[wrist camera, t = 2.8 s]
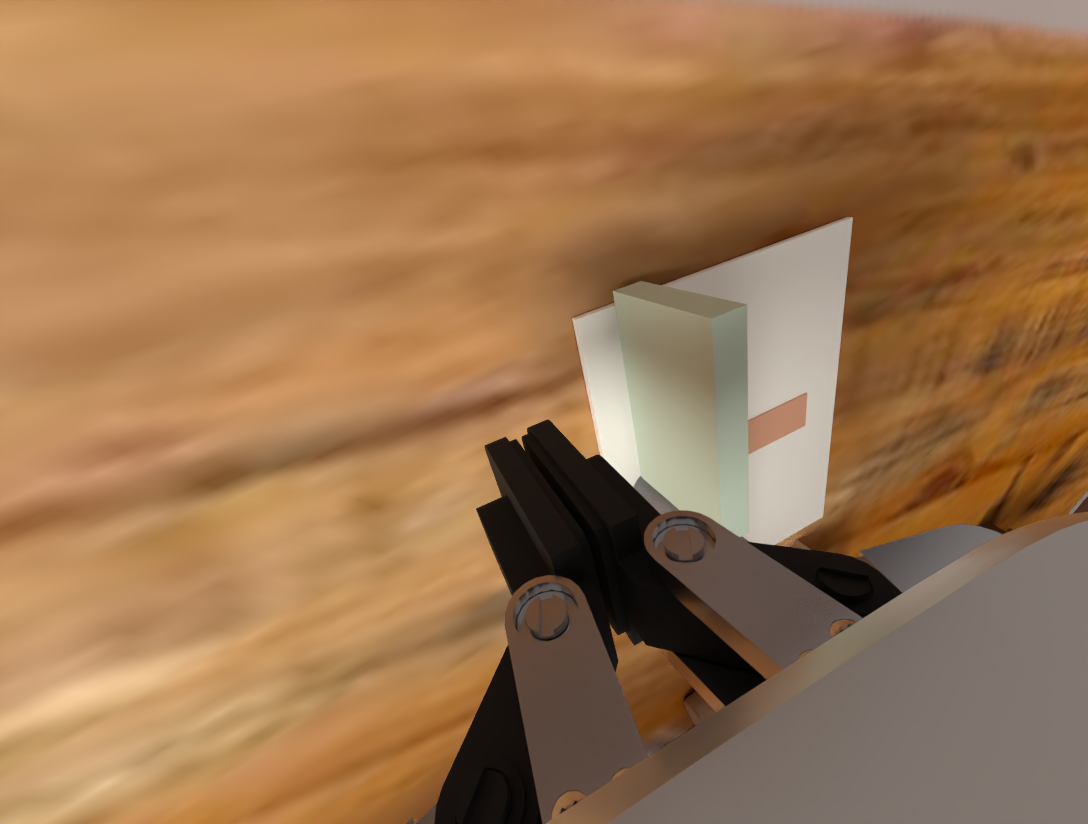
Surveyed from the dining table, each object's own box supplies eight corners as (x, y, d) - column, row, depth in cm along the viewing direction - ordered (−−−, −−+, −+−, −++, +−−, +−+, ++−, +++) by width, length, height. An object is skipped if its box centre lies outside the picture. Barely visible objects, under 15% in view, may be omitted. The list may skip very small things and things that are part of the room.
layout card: (818, 514, 29) (824, 517, 28) (634, 621, 25) (638, 626, 25) (846, 216, 20) (855, 217, 20) (572, 317, 17) (576, 320, 16)
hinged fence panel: (663, 466, 20) (748, 532, 16) (641, 477, 20) (722, 547, 16) (641, 281, 16) (747, 304, 12) (612, 291, 16) (711, 318, 12)
